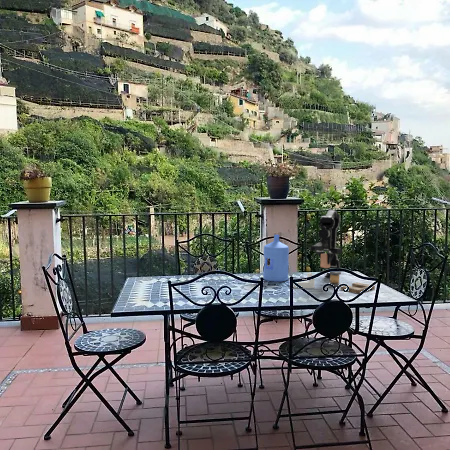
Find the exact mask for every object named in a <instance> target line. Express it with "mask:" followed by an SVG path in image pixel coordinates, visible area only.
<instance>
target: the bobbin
mask: <svg viewBox="0 0 450 450" xmlns="http://www.w3.org/2000/svg"><path fill="white" fill-rule="evenodd" d="M329 274H330V278H329V283H330V284H332V285H334V286H333V287H336V286H338V285H339V284H341V283H340V275H342V272H341V271H340V272H330V273H329ZM338 287H339V286H338Z"/></svg>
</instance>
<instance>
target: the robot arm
mask: <svg viewBox="0 0 450 450" xmlns="http://www.w3.org/2000/svg"><path fill="white" fill-rule="evenodd" d="M340 224H341V215H340V214H339V213H338V212H337V210H334V209H333V210H327V213H326V214H325V215H321V217H320V219H319V223H318V228H319V229H320V230H319V231H318V238H320V239H319V242H317V243H316V244H314V245H311V246H310V249H309V251H314V252H315V253H316V254H317V255H318V256H319V260H320V261H321V254H323V253H325V252H327V255H328V264H330V268H338V269H340V267H341V266H340V260H339V259H338V258H339V257H338V255H337V254H342V253H343V250H342V248H341V247H337V230H338V228H339V227H340ZM325 269H329V268H325ZM325 277H326V278H329V277H330V274H329V273H327V274H326V273H325V275H324V278H325Z"/></svg>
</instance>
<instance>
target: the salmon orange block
mask: <svg viewBox="0 0 450 450" xmlns="http://www.w3.org/2000/svg"><path fill="white" fill-rule="evenodd" d="M327 253H328V252H327ZM327 253H323V254H321V260H320V263H319V264H320V266H319V267H320V268H324V269H326V268H330V264H328V255H327Z"/></svg>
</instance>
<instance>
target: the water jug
mask: <svg viewBox="0 0 450 450" xmlns="http://www.w3.org/2000/svg"><path fill="white" fill-rule="evenodd" d="M273 236H274V237H273V241H271V242H270V243H269V242H268V243H267V244H265V245H264V246H263V257H264V261H263V262H264V267H263V274H262V278H263V280H265V281H267V282H275V283H278V282H280V283H281V282H287V281H289V280H288V279H289V266H290V265H289V264H290V263H289V257H290V255H289V253H290V249H289V246H288V245H286V244H285V243H284V242H281V241H280V234H273ZM268 259H269V265H268Z"/></svg>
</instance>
